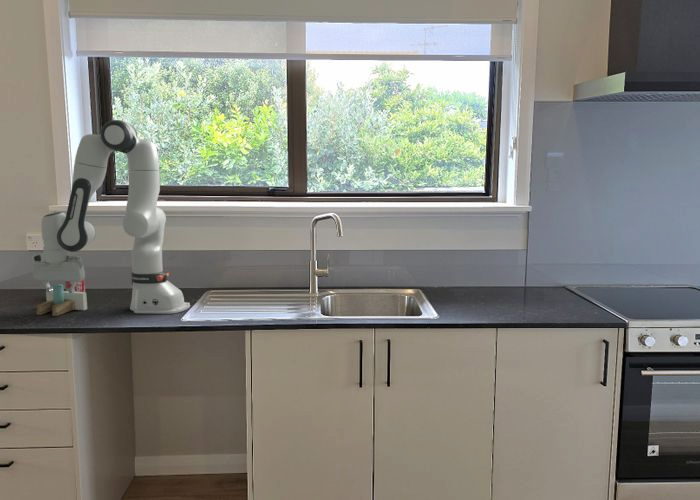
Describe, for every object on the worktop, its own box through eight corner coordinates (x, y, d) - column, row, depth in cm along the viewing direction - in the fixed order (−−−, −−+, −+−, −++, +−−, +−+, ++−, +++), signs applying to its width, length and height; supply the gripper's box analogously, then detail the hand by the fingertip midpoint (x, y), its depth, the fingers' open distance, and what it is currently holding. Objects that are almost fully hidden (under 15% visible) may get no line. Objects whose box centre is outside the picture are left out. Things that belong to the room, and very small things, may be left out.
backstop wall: (87, 308, 235) (86, 292, 234) (84, 310, 233) (82, 293, 232) (50, 306, 238) (49, 290, 237) (47, 307, 237) (45, 291, 235)
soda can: (88, 295, 256) (86, 267, 254) (79, 299, 249) (77, 270, 248) (72, 295, 257) (70, 267, 255) (63, 299, 250) (61, 270, 248)
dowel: (67, 310, 233) (65, 284, 231) (60, 312, 230) (58, 286, 228) (58, 309, 234) (56, 284, 232) (52, 312, 230) (50, 286, 229)
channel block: (75, 308, 234) (74, 299, 233) (57, 315, 224) (56, 306, 223) (55, 307, 236) (55, 298, 235) (36, 314, 226) (36, 305, 225)
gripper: (87, 254, 230) (90, 291, 232) (39, 254, 234) (43, 289, 236) (76, 257, 223) (79, 294, 226) (27, 257, 228) (31, 293, 230)
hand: (60, 292), depth 231 cm, fingers open, 8 cm apart
